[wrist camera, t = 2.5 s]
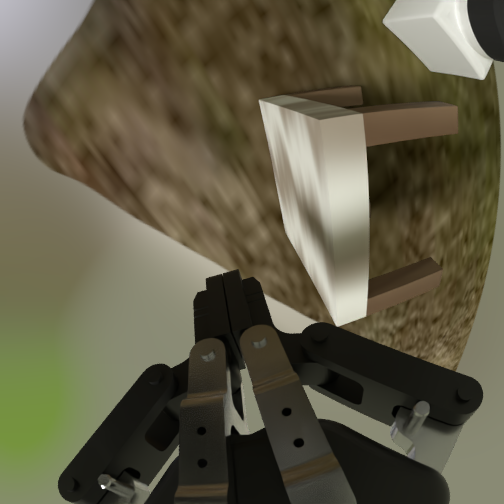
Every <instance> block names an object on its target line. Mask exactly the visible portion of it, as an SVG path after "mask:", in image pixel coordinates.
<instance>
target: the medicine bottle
mask: <svg viewBox="0 0 504 504" xmlns="http://www.w3.org/2000/svg"><path fill="white" fill-rule="evenodd" d="M383 24H384V25H385V26H386V27H387V28H389V29H390V30H391V31H392V32H393V33H394V34H395V35H396V36H397V37H398V38H399V39H400V40H401V41H402V42H403V43H404V44H405V45H406V46H407V47H408V48H409V49H410V50H411V51H412V52H413V53H414V54H415V55H416V56H417V57H418V58H419V59H420V60H421V61H422V62H423V63H424V65H425V66H426V67H427V68H428V69H429V70H430V71H432V72H439V73H446V74H453V75H459V76H465V77H470V78H475V79H480V80H484V79H485V77H486V75H487V73H488V71H489V68H490V66H491V64H492V62H493V60H496V61H501V62H504V0H396V1H395V3H394V4H393V6H392V7H391V9H390V10H389V12H388V13H387V15H386V16H385V18H384V19H383Z"/></svg>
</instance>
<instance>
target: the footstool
mask: <svg viewBox="0 0 504 504" xmlns="http://www.w3.org/2000/svg"><path fill="white" fill-rule="evenodd" d="M259 103H260V108H261V112H262V117H263V121H264V126H265V131H266V136H267V140H268V145H269V150H270V155H271V160H272V165H273V170H274V175H275V180H276V185H277V190H278V195H279V200H280V206H281V211H282V216H283V222H284V227H285V232H286V234H287V236H288V238H289V239H290V241H291V243H292V245H293V246H294V248H295V250H296V252H297V254H298V255H299V257H300V259H301V261H302V263H303V264H304V266H305V268H306V270H307V272H308V274H309V275H310V277H311V279H312V281H313V283H314V285H315V286H316V288H317V290H318V292H319V294H320V296H321V298H322V299H323V301H324V303H325V305H326V307H327V309H328V311H329V313H330V314H331V316H332V318H333V320H334V322H335V324H336V326H340V325H343V324H346V323H349V322H352V321H354V320H357V319H360V318H363V317H365V316H368V315H371V314H373V313H376V312H379V311H381V310H384V309H386V308H389V307H391V306H394V305H396V304H399V303H401V302H404V301H406V300H408V299H411V298H413V297H416V296H418V295H420V294H423V293H425V292H427V291H429V290H432V289H434V288H436V287H438V286H439V285H440V281H441V276H442V272H443V269H442V268H441V267H440V266H439V265H438V264H437V263H436V262H435V261H434V260H433V259H432V258H431V257H429V258H427V259H424V260H421V261H419V262H416V263H414V264H411V265H408V266H406V267H403V268H400V269H397V270H395V271H392V272H389V273H386V274H384V275H381V276H378V277H375V278H372V279H369V280H368V275H369V218H371V206H370V202H369V190H368V169H367V154H366V147H368V146H374V145H380V144H386V143H392V142H398V141H405V140H411V139H418V138H425V137H433V136H441V135H449V134H458V106H455V105H452V104H448V103H444V102H440V101H430V102H411V103H397V104H386V105H376V106H367V107H358V108H350V109H345V108H341V107H346V106H354V105H363V98H362V91H361V87H360V86H343V87H334V88H326V89H318V90H311V91H304V92H298V93H292V94H286V95H281V96H275V97H270V98H265V99H260V100H259Z"/></svg>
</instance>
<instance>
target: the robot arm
mask: <svg viewBox="0 0 504 504" xmlns="http://www.w3.org/2000/svg"><path fill="white" fill-rule="evenodd" d="M206 289H207V290H205V291H201V292H198V293H197V295H196V297H195V299H194V301H193V306H194V329H195V345H194V346H193V347H192V349H191V351H190V354H189V358H188V359H187V360H185V361H184V362H182V363H180V364H179V365H177V366H175V367H173V368H170V367H169V366H167V365H165V364H155V365H152V366H150V367H149V368H147V369H146V370H145V371H144V372H143V373H142V375H141V376H140V377H139V378H138V380H137V381H136V382H135V383H134V384H133V386H132V387H131V388H130V389H129V391H128V392H127V393H126V394H125V395H124V397H123V398H122V399H121V400H120V402H119V403H118V404H117V405H116V407H115V408H114V409H113V410H112V412H111V413H110V414H109V415H108V417H107V418H106V419H105V420H104V421H103V423H102V424H101V425H100V427H99V428H98V429H97V430H96V431H95V433H94V434H93V435H92V436H91V438H90V439H89V440H88V441H87V443H86V444H85V445H84V446H83V448H82V449H81V450H80V451H79V453H78V454H77V455H76V456H75V458H74V459H73V460H72V461H71V463H70V464H69V465H68V466H67V468H66V469H65V470H64V471H63V473H62V474H61V476H60V477H59V480H58V489H59V492H60V494H61V496H62V497H63V498H64V499H65V500H67V501H69V502H71V503H74V504H449V501H450V492H449V488H448V484H447V482H446V480H445V479H444V477H443V476H442V475H441V472H442V471H443V469H444V467H445V465H446V463H447V461H448V459H449V457H450V454H451V452H452V450H453V448H454V446H455V443H456V441H457V438H458V436H459V434H460V432H461V429H462V427H463V425H464V423H466V422H467V420H468V419H469V418H470V417H471V416H472V415H473V413H474V412H475V411H476V410H477V409H478V407H479V406H480V404H481V402H482V399H483V390H482V387H481V385H480V384H479V383H478V381H476V380H475V379H473V378H472V377H469V376H466V375H463V374H460V373H458V372H455V371H452V370H449V369H446V368H444V367H441V366H438V365H435V364H433V363H430V362H427V361H424V360H422V359H419V358H416V357H414V356H411V355H408V354H406V353H403V352H400V351H398V350H395V349H392V348H390V347H387V346H385V345H382V344H379V343H377V342H374V341H372V340H369V339H367V338H364V337H361V336H359V335H356V334H354V333H351V332H349V331H346V330H344V329H341V328H339V327H336V326H334V325H332V324H329V323H324V322H319V323H314V324H311V325H310V326H308V327H306V328H305V329H304V330H303V332H302V333H300V334H299V333H296V334H289V333H284V332H282V331H280V330H278V329H277V328H276V327H275V326H274V324H273V322H272V319H271V316H270V312H269V309H268V306H267V304H266V300H265V297H264V294H263V291H262V288H261V284H260V282H259V281H257V280H256V279H255V278H254V277H251V278H247V279H244V280H242V278H241V275H240V272H239V269H237V270H233V271H230V272H227V273H223V276H222V274H220V275H216V276H212V277H209V278H206ZM244 361H245V362H244ZM245 363H246V366H247V369H248V372H249V375H250V378H251V381H252V385H253V392H254V395H255V398H256V401H257V404H258V407H259V410H260V413H261V416H262V420H263V422H264V426H265V428H263V429H261V430H259V431H257V432H255V433H253V434H250V431H249V428H248V425H247V417H246V407H245V398H244V388H243V383H242V378H241V373H240V370H241V369H245V368H246V367H245ZM302 385H309V386H310V387H311V388H312V389H313V390H316V391H317V392H319V393H321V394H323V395H325V396H327V397H329V398H331V399H333V400H335V401H337V402H339V403H341V404H343V405H345V406H347V407H349V408H351V409H354V410H356V411H358V412H360V413H362V414H364V415H366V416H369V417H371V418H373V419H375V420H378V421H380V422H382V423H385V424H387V425H389V426H391V429H390V435H391V438H392V440H393V442H394V443H395V444H396V445H398V446H399V447H401V448H402V449H403V450H404V451H405V452H406V454H407V456H405V455H402V454H400V453H398V452H396V451H394V450H392V449H390V448H388V447H385V446H383V445H382V444H379V443H377V442H375V441H374V440H371V439H369V438H368V437H366V436H364V435H362V434H360V433H358V432H356V431H354V430H352V429H350V428H349V427H347V426H345V425H343V424H341V423H337V422H335V421H331V420H326V419H317V417H316V415H315V412H314V410H313V408H312V406H311V404H310V402H309V399H308V397H307V395H306V393H305V390H304V388H303V386H302ZM178 445H179V456H178V457H176V458H175V460H174V461H173V462H172V463H171V465H170V466H169V468H168V469H167V471H166V472H165V473H164V475H163V476H162V478H161V479H160V481H159V482H158V484H157V485H156V487H155V488H154V490H153V491H152V492H151V494H150V491H149V488H148V486H149V484H150V483H151V482H152V480H153V479H154V478H155V476H156V475H157V473H158V472H159V471H160V470H161V468H162V467H163V465H164V464H165V463H166V461H167V460H168V459H169V457H170V456H171V454H172V453H173V451H174V450H175V449H176V447H177V446H178Z"/></svg>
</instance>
